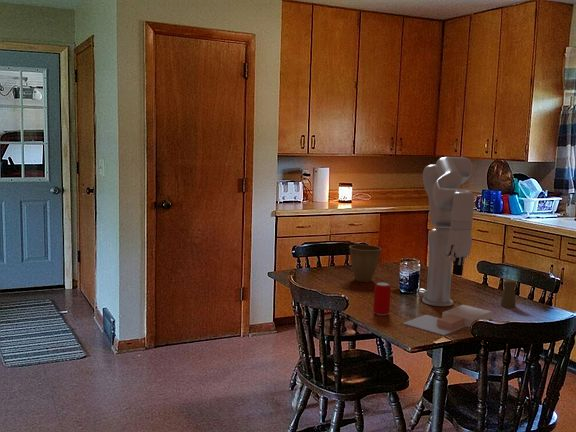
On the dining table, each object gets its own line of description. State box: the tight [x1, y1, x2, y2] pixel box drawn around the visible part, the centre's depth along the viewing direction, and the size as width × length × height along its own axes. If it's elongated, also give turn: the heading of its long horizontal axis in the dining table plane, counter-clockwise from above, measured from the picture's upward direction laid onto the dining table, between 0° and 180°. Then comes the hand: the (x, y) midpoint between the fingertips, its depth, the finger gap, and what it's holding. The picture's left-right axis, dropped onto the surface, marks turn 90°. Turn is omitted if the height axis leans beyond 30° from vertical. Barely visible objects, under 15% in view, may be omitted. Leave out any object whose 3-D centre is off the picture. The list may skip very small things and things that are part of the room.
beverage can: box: [373, 282, 392, 317], centre depth 236 cm, size 6×6×12 cm
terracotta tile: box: [437, 315, 464, 330], centre depth 224 cm, size 6×9×2 cm, turn 137°
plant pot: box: [349, 244, 382, 283], centre depth 288 cm, size 15×15×16 cm
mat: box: [402, 314, 466, 337], centre depth 225 cm, size 17×16×1 cm
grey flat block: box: [441, 304, 492, 328], centre depth 234 cm, size 12×16×3 cm
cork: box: [499, 279, 517, 309], centre depth 253 cm, size 6×6×11 cm
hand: (457, 274), depth 224 cm, fingers closed
